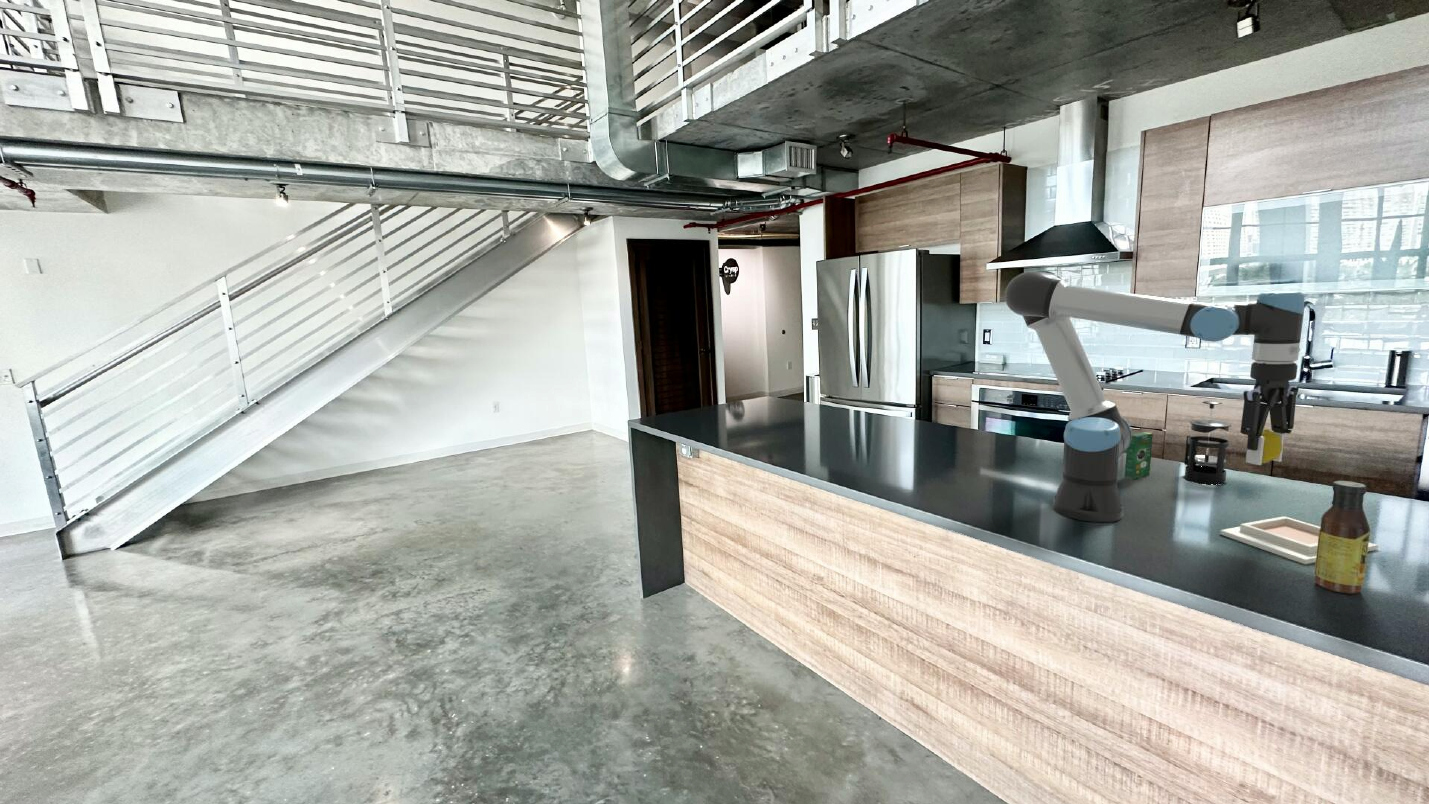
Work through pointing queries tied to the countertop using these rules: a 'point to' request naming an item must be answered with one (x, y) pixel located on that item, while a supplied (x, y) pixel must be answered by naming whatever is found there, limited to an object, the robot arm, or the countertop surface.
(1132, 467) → the coffee box
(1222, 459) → the french press
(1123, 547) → the countertop surface
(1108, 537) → the countertop surface
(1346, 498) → the sauce bottle
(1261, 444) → the robot arm
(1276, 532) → the tray
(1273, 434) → the lemon
